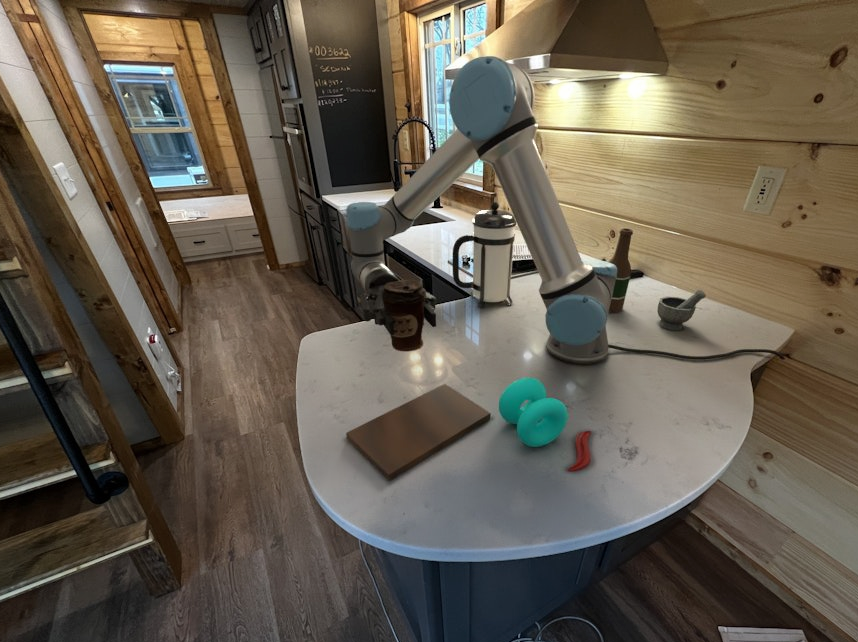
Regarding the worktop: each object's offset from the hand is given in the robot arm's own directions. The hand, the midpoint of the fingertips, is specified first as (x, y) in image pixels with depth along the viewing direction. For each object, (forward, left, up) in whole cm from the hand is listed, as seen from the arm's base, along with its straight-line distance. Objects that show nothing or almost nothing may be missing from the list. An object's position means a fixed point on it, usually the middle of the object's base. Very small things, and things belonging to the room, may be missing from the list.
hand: (413, 324), depth 75 cm
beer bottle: (-36, -65, -18) cm, 77 cm away
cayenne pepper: (-34, +4, -18) cm, 39 cm away
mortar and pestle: (-54, -58, -18) cm, 82 cm away
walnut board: (-4, +8, -18) cm, 20 cm away
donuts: (-24, +2, -18) cm, 30 cm away
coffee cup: (+3, -3, -7) cm, 9 cm away
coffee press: (+2, -57, -18) cm, 60 cm away
